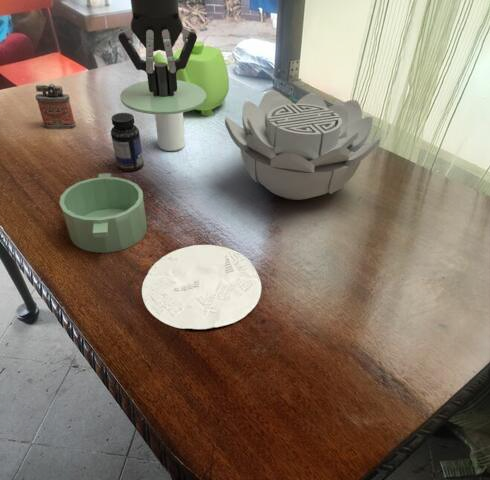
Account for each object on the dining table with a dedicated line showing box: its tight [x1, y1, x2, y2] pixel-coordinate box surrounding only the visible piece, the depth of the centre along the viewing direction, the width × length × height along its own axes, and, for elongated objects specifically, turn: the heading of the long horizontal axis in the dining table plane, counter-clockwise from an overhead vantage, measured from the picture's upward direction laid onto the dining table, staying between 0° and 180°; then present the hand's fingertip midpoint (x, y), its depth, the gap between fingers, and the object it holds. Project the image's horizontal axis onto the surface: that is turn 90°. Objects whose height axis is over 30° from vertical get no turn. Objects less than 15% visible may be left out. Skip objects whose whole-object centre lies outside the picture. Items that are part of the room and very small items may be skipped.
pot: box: [58, 172, 148, 254], centre depth 85 cm, size 15×20×7 cm
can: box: [154, 112, 186, 152], centre depth 107 cm, size 6×6×12 cm
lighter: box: [34, 83, 77, 130], centre depth 114 cm, size 8×3×10 cm, turn 94°
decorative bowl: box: [224, 89, 382, 201], centre depth 96 cm, size 30×30×15 cm
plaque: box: [141, 244, 262, 330], centre depth 76 cm, size 20×20×2 cm
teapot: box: [153, 41, 230, 117], centre depth 123 cm, size 25×22×16 cm
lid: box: [119, 62, 206, 115], centre depth 82 cm, size 16×16×6 cm
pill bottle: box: [110, 112, 145, 172], centre depth 100 cm, size 6×6×11 cm
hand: (163, 93), depth 83 cm, fingers closed on lid, 2 cm apart
